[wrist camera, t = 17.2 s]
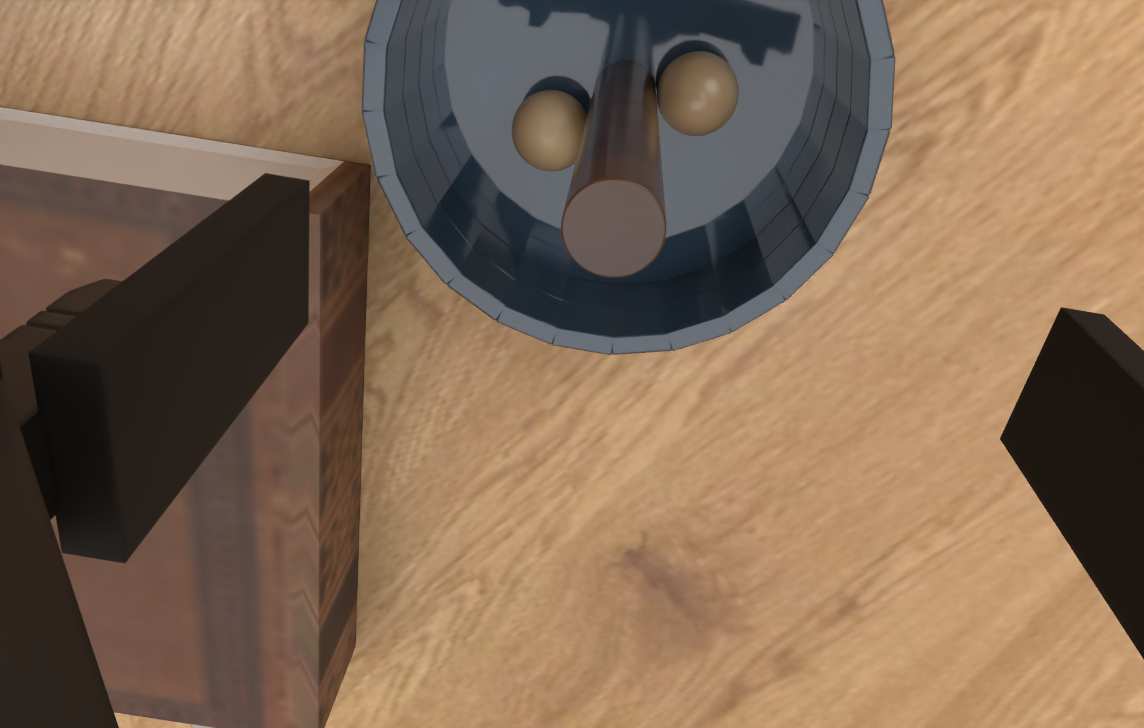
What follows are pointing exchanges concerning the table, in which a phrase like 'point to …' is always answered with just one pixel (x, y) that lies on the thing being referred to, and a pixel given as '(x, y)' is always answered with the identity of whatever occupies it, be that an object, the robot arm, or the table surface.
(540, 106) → the bead
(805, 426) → the table surface
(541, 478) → the table surface
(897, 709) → the table surface
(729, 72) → the bead
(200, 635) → the book
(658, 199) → the stirring stick
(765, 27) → the bowl
